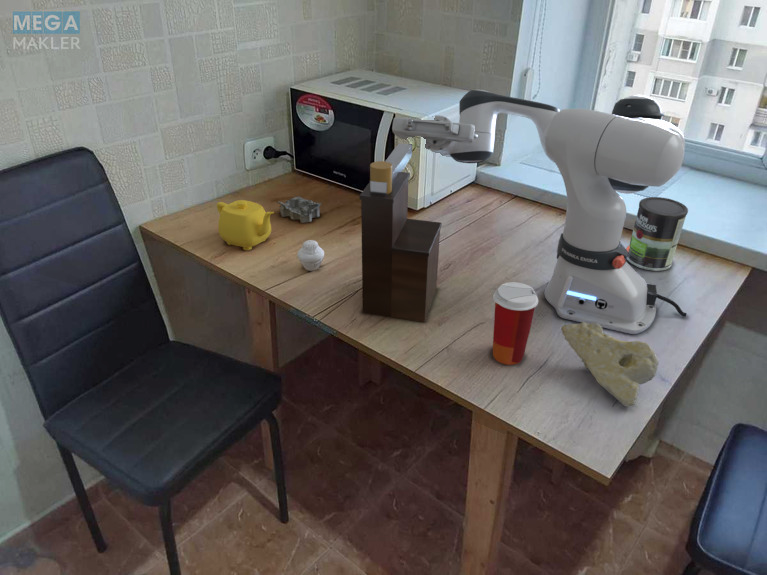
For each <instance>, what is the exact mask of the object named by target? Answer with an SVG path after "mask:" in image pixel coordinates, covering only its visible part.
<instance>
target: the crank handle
mask: <svg viewBox="0 0 767 575" xmlns="http://www.w3.org/2000/svg"><path fill="white" fill-rule="evenodd" d="M412 156H413V145H412V144H406V143H401V142H399V143H397V144H396V146H395V147H394V149H393V150H392V151H391V153H390V154H389V155H388V157H387V159H385V161H384V160H378V161H374V162H371V163H370V165H369V182H370V194H377V195H387V194H389V193H391V192H392V186H393V184H394V183H395V181H396V180H397V178H398V177H399V175H400V174H401V172H403V170H404V169H405V168H406V166H407V165H408V163H409V161H410V160H411V158H412Z"/></svg>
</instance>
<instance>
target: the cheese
mask: <svg viewBox="0 0 767 575" xmlns="http://www.w3.org/2000/svg"><path fill="white" fill-rule="evenodd" d="M600 325H603V324H597V323H594V324H589V323H585V322H582V323H581V322H580V323H569V324H565V325H563V326H561V332H562V335H563V338H564V340H565V341H566V342H567V343H568V344H569V346H570V347H571V349H572V350H573V351H574V352H575V354H576V355H577V356H578V357H579V358H580V360H581V363H583V366H584V368H585V369H586V370H589V371H590V373H591V375H592V376H593V377H594V378H595V380H596V383H598V384H599V385H600V387H602V388H604V389H605V390H606V391H607V393H608V394H610V395H611V396H613V397H614V398H615V399H616V400H617V401H618V402H620V404H621V405H622V406H624V407H627V408H629V407H631V408H632V407H634V406H635V403H636V402H637V399H638V396H639V391H640V385H643V384H647V383H648V382H650V381H652V380H653V379H654V377H656V374H657V371H658V368H659V364H660V362H659V359H658V356H657V355H656V352H655V351H654V349H653V348H652V347H651V346H650V345H649V343H647V342H644V341H641V340H631V341H628V340H620V339H618V338H616V337H614V336H611V335H610V334H607V333H604V329H603V327H601V326H600Z"/></svg>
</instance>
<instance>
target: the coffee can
mask: <svg viewBox="0 0 767 575" xmlns="http://www.w3.org/2000/svg"><path fill="white" fill-rule="evenodd" d="M688 213H689V208H688V207H687V206H686V205H685V204H684V203H682V202H680V201H677V200H674V199H670V198H668V197H662V196H661V197H660V196H650V197H644V198H642V199H640V200H639V203H638V210H637V213H636V217H635V221H634V225H633V229H632V233H631V237H630V241H629V245H628V246H630V248H629V252H628V256H627V260H626V261H627V262H629V263H630V264H631V265H633V266H634V267H637V268H639V269H642V270H645V271H646V270H647V271H653V272H661V271H667V270H669V269H670V268H671V267H672V265H673V260H674V257H675V254H676V250H677V247H678V244H679V240H680V237H681V234H682V231H683V227H684V224H685V220H686V218H687V215H688Z"/></svg>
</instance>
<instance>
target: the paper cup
mask: <svg viewBox="0 0 767 575" xmlns="http://www.w3.org/2000/svg"><path fill="white" fill-rule="evenodd" d="M492 298H493V299H492V300H493V301H494V315H493V316H494V319H493V336H492V356H493V357H492V358H494V360H495V361H497V362H498V363H500V364H502V365H506V366H507V365H508V366H514V365H518V364H519V363H521V362H522V361H523V359H524V357H525V352H526V348H527V344H528V340H529V336H530V332H531V328H532V323H533V320H534V315H535V309H536V307H537V306H538V304H539V297H538V296H537V293H536V291H535V289H534V288H533V287H532V286H530V285H528V284H526V283H522V282H518V281H509V282H505V283H502V284H501V285H500V286H499V287H498V288H497V289H496V290H495V292H494V294H493V295H492Z"/></svg>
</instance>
